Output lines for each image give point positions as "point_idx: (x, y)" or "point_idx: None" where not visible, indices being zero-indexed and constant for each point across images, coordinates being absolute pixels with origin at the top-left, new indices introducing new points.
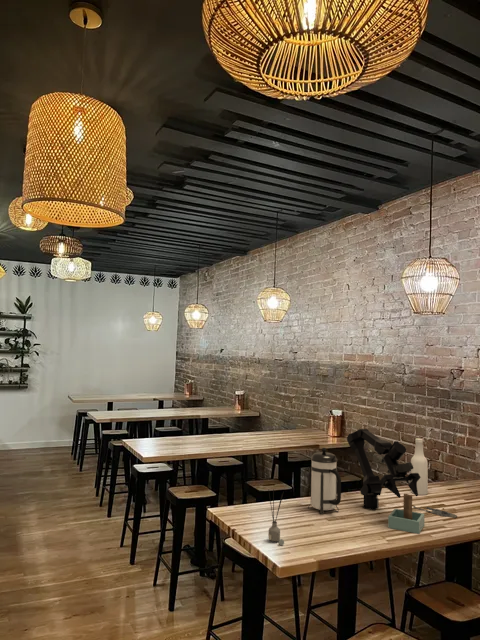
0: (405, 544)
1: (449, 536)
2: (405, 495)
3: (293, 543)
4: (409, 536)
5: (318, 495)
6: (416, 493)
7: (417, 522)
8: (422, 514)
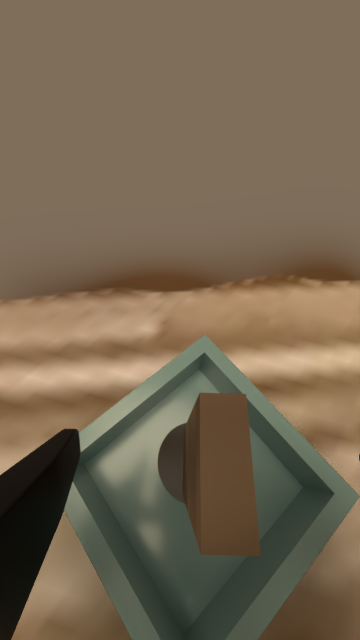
0: (323, 287)
1: (89, 299)
2: (250, 492)
3: None
4: (262, 345)
5: None
6: (68, 446)
7: (211, 342)
8: None
